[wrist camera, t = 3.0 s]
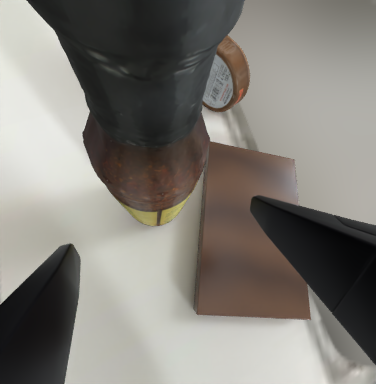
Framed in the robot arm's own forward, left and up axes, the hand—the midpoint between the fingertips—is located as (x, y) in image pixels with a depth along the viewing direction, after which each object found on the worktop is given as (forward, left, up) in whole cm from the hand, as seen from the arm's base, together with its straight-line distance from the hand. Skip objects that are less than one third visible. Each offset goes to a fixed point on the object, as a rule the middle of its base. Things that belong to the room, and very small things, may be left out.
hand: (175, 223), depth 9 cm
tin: (+23, -1, -12) cm, 26 cm away
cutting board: (+3, -11, -12) cm, 17 cm away
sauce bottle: (+4, +2, -12) cm, 13 cm away
